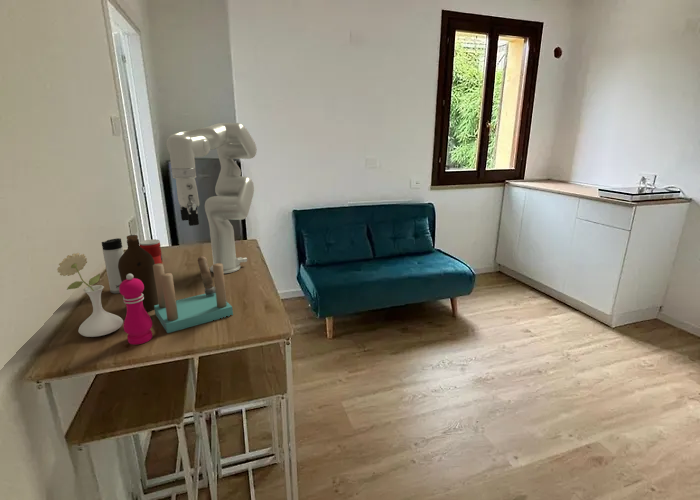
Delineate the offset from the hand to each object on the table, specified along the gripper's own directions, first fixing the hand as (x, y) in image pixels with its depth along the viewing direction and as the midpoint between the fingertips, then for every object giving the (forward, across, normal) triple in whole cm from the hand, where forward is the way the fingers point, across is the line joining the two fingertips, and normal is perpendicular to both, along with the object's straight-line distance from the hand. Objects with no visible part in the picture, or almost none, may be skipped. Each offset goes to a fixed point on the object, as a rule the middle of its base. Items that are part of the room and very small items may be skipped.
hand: (190, 222), depth 138 cm
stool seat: (+26, -19, +7) cm, 33 cm away
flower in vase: (+26, -15, +33) cm, 45 cm away
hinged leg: (+23, -14, -1) cm, 27 cm away
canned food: (+27, +42, +8) cm, 50 cm away
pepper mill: (+26, -26, +24) cm, 44 cm away
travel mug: (+26, +18, +23) cm, 39 cm away
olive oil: (+26, -3, +19) cm, 33 cm away
